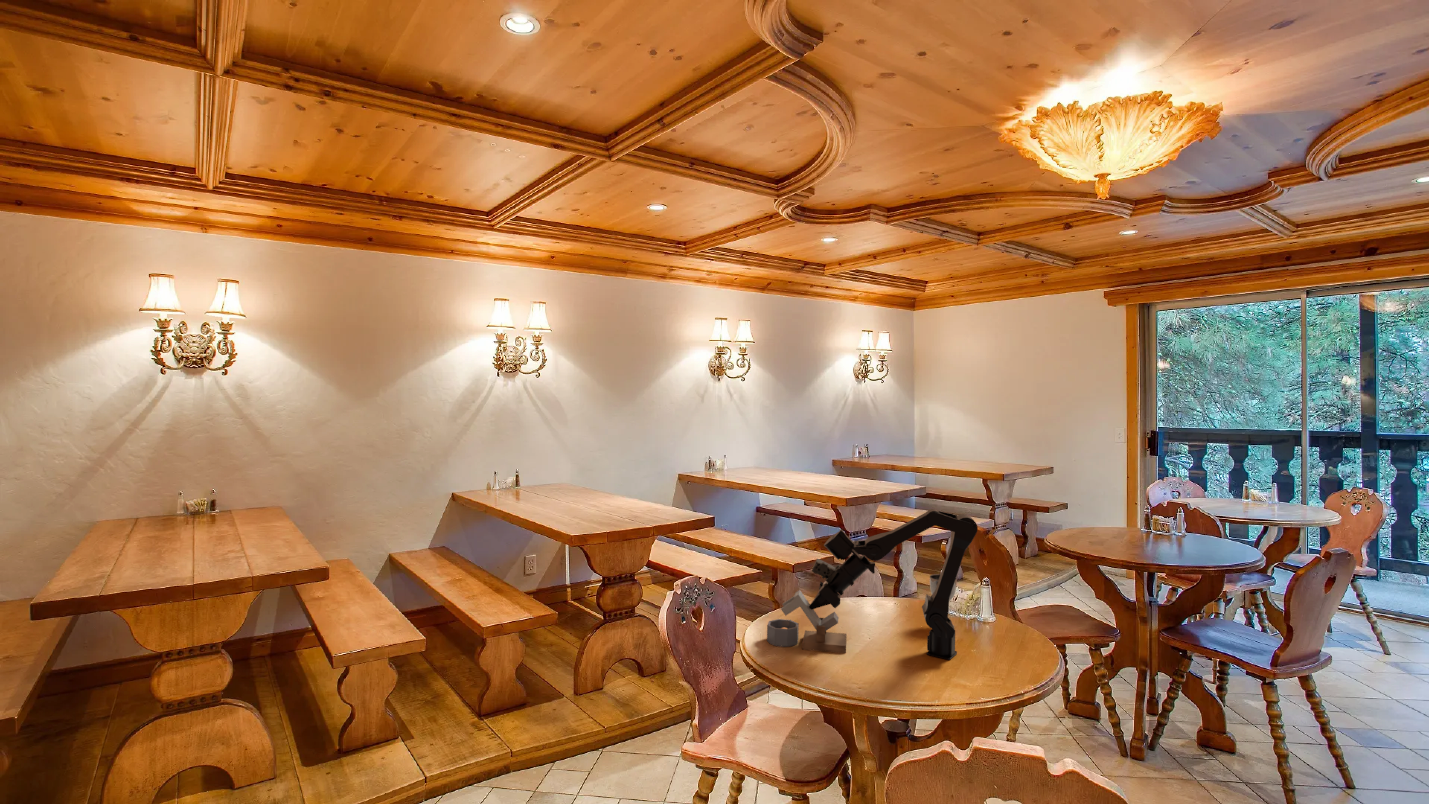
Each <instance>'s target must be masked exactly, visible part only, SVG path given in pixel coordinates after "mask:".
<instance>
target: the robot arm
mask: <svg viewBox="0 0 1429 804" xmlns="http://www.w3.org/2000/svg"><path fill="white" fill-rule="evenodd" d="M933 527H938V528H941V529H945V530H947V531H950V544H949V547H948V551H947V552H946V553H947V554H946V557H945V560H944V563H943V565H942V568H941V571H940V573H939V574H940V577H939V580H938V583H937V586H936V589H935V591H934V593H933V594H932V593H931V595H929V594H926V595H925V600H924V603H923V605H922V606H921V609H922V613H923V618H924V621H925V623H926V625H927V626H928V627H929V628H930V630H929V631H928V632H929V633H928V635H927V639H926V641H927V642H926V643H927V644H926V646H927V647H926V650H927V652H926V655H927V656H932V657H936V658H940V659H944V660H949V661H951V660H952V659H953V657H955V656H956V655H957V654H958V651H956V629H955V625H954V624H953V622H952V620H951V619H950V617H949V608H950V601H949V598H950V595H951V592H952V589H953V586H954V583H955V580H956V578H957V576H958V573H959V570H960V567H961V564H962V561H963V559H964V558H963V557H964V554H965V552H966V550H967V549H968V548H969V546H970V545H971V544H972V542H973V540H974V539H975V537H976V535H977V532H978V528H979V527H978V524H977V522H976V521H975V520H974V519H973V517H972V516H971V515H969V514H967V513H959V514H955V513H951V512H945V511H940V510H937V509H936V508H930V509H928V510H927V511H926V512H925V513H922V514H920V515H919V516H916V517H915V518H913V519H911V520H909V521H907V522H905V523H903V524H902V525H899V526H898V527H896V528H894V529H892V530H890V531H886V532H882V533H878V534H874V535H871V536H869V537H867V538H866V539H865V540H855V541H853V539H852V538H850V537H849V536H848V535H847V534H846V532H845V531H844V530H843V529H839V531H837V532H835V533H834V534H832V535H831V536H830V537H829V538H828V539H827V540H826V542H825V543H824V544H823V546H824V548H826V549H827V551H829V552H830V553H831V554H832V556H833V557H834V558H835V559H837V560H841V561H842V560H843V561H844V560H845V561H844V562H843V563H841V564H837V565H836V566H834V565H832V564H830V563H828V562H826V561H824V560H822V559H821V558H820V559H819V558H816V560H815V562H814V564H813V566H812V568H811V572H812V573H814V574H816V575H819V576H821V578H822V579H825V580H824V582H822V581H819V586H818V592H817V594H816V595H815V597H814V598H813V600H812V601H811V603H809V604H810V606H809V608H810V609H811V610H813V609H814V610H815V609H819V608H822V607H825V606H828V605H831V607H833V609H836V608H838V607H839V606H840V604H841V596H843V594H844V593H845V590H847V589H848V588H849V587H850V586H851V587H852V586H853V585H855V581H857V579H859V578H860V577H861V576H863V574H864V573H865V572H867V571H868V570H869V572H871V574H873V575H874V574H875V568H876V562H877V561H880V560H882V559H883V558H885V556H888V554H890V553H891V552H892V550H895V549H894V548H896V547H897V546H898V545H901V544H902V543H904V542H906V541H908V540H909V539H911V538H913V537H916V536H917V535H919V534H921V533H923V532H925V531H926V530H929V529H931V528H933ZM953 625H954V626H953Z"/></svg>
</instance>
